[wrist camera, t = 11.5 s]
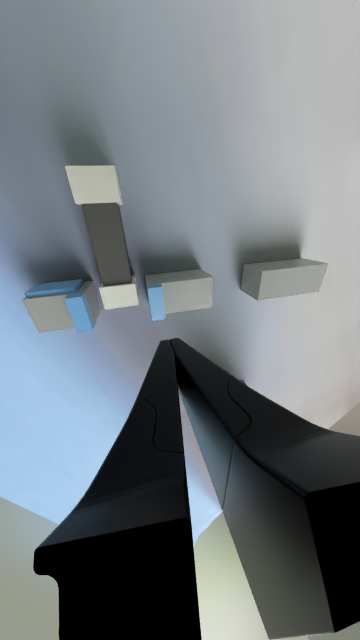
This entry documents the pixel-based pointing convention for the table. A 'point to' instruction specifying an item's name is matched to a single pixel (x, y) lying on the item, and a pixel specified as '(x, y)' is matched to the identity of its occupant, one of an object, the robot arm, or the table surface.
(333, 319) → the table surface
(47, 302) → the grey block row
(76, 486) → the table surface
